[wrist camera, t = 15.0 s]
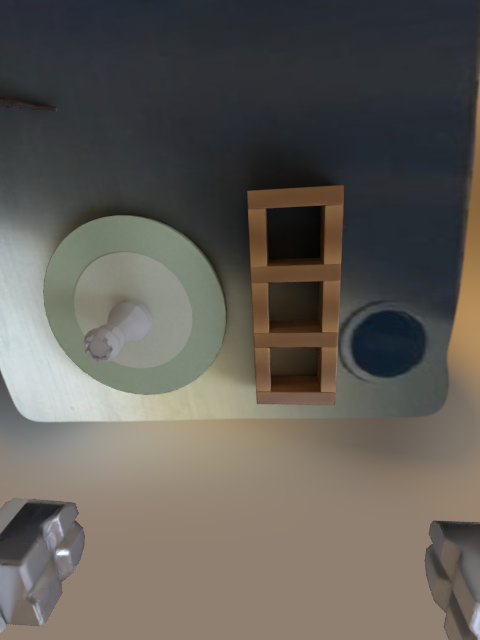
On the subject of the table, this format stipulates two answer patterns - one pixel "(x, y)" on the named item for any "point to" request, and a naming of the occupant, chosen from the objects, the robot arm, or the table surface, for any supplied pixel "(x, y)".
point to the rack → (296, 270)
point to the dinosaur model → (24, 104)
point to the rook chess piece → (118, 331)
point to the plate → (142, 286)
